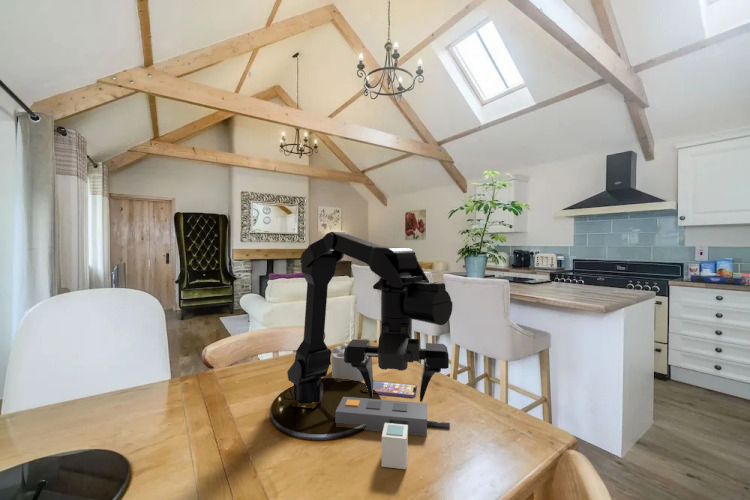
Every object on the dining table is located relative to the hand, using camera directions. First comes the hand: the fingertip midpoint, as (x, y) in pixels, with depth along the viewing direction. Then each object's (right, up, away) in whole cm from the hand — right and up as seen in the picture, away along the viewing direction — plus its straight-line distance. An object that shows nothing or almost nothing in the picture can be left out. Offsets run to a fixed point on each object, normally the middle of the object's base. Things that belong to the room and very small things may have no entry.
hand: (396, 399), depth 59 cm
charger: (0, -11, +1) cm, 12 cm away
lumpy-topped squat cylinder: (-12, -11, +41) cm, 44 cm away
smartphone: (0, -12, +30) cm, 32 cm away
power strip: (0, -12, +13) cm, 17 cm away
